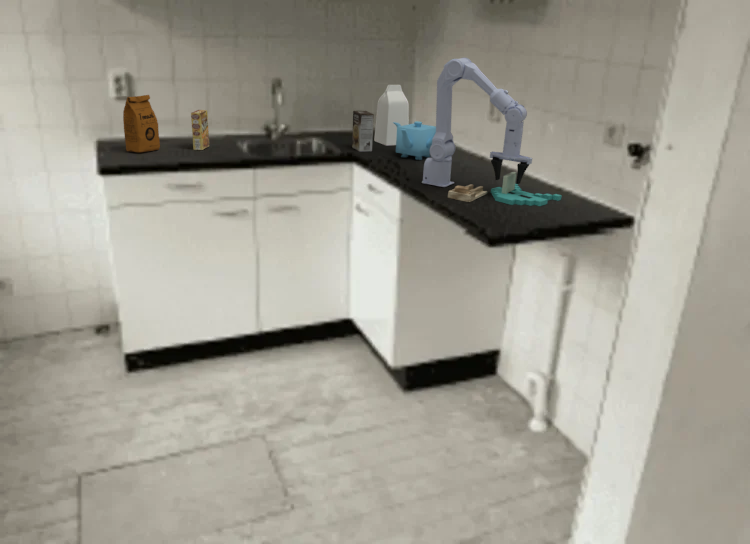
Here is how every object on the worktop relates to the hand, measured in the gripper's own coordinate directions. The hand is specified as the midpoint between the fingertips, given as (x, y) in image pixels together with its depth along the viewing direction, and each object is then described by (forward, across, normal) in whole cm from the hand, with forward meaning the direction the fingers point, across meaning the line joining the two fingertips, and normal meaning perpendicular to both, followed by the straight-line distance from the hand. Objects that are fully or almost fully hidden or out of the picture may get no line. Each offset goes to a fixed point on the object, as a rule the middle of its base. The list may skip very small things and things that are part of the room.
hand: (507, 181), depth 230 cm
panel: (+3, +1, 0) cm, 3 cm away
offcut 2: (+4, -10, -14) cm, 18 cm away
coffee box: (+5, -80, +29) cm, 85 cm away
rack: (+5, -10, -10) cm, 15 cm away
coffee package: (+6, -142, -38) cm, 147 cm away
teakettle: (+5, -55, +32) cm, 64 cm away
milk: (+5, -79, +52) cm, 95 cm away
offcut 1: (+3, -10, -14) cm, 18 cm away
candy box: (+6, -130, -18) cm, 131 cm away
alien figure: (+6, +5, 0) cm, 8 cm away
